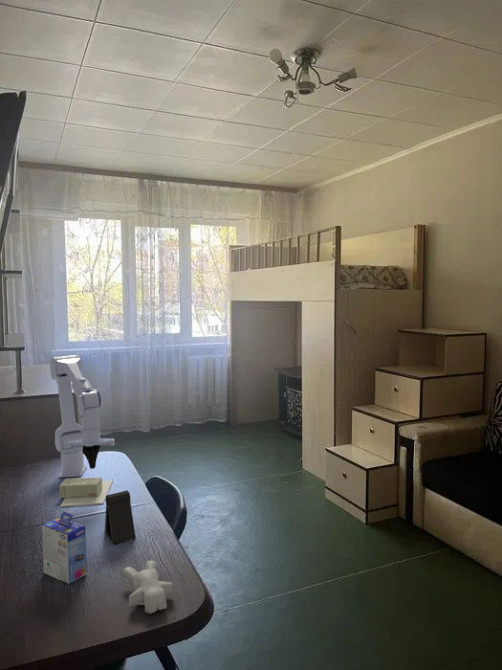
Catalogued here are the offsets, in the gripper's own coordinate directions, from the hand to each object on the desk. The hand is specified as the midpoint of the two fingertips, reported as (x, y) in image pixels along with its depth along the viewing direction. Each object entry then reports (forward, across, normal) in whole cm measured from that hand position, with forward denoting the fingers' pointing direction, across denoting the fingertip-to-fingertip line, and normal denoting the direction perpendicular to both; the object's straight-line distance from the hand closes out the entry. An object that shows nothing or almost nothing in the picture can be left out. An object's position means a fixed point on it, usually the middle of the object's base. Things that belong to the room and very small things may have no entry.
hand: (92, 467), depth 163 cm
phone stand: (+9, +13, -30) cm, 34 cm away
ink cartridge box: (+9, +3, -47) cm, 48 cm away
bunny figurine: (+9, +24, -59) cm, 64 cm away
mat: (+9, -2, 0) cm, 9 cm away
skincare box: (+6, -10, 0) cm, 12 cm away
